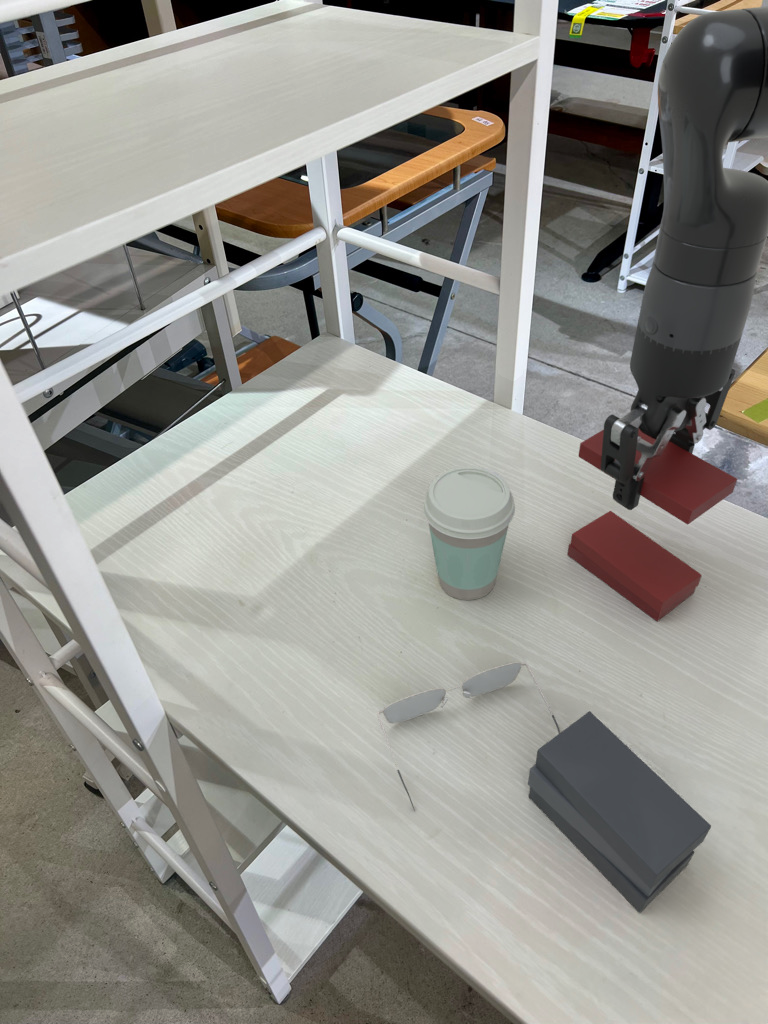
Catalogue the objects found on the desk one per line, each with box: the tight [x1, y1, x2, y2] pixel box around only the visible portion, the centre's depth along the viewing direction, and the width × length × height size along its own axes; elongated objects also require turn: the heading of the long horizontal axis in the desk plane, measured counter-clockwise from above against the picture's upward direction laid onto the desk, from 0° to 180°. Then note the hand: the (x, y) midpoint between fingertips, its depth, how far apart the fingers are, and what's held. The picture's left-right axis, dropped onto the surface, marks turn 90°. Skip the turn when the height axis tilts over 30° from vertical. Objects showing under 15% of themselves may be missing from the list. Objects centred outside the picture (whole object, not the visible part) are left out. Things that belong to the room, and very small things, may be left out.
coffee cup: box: [422, 465, 516, 601], centre depth 72 cm, size 8×8×12 cm
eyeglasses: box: [376, 661, 561, 812], centre depth 62 cm, size 14×8×4 cm, turn 109°
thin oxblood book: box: [578, 429, 738, 526], centre depth 66 cm, size 12×6×2 cm, turn 37°
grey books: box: [527, 711, 712, 914], centre depth 55 cm, size 12×6×7 cm, turn 37°
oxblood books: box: [567, 510, 703, 622], centre depth 75 cm, size 12×6×3 cm, turn 37°
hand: (649, 486), depth 68 cm, fingers closed on thin oxblood book, 6 cm apart
